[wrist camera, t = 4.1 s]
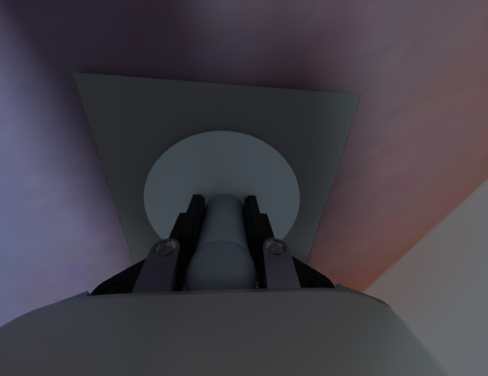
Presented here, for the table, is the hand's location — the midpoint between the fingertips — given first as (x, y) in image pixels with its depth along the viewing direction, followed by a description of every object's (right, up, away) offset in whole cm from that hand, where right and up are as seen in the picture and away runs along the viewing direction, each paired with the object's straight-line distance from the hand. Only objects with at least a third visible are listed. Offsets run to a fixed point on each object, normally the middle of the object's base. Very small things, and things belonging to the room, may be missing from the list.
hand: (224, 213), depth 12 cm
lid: (0, +1, +1) cm, 1 cm away
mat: (0, +1, +2) cm, 2 cm away
